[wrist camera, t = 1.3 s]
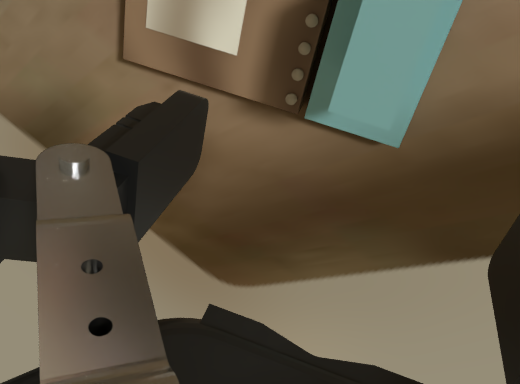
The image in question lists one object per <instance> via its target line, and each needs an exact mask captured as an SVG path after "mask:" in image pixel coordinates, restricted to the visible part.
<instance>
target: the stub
mask: <svg viewBox="0 0 520 384" xmlns="http://www.w3.org/2000/svg"><path fill="white" fill-rule="evenodd" d="M461 3H462V0H338V3H337V6H336V10H335V13H334V17H333V20H332V23H331V27H330V30H329V34H328V37H327V41H326V44H325V48H324V51H323V55H322V58H321V62H320V65H319V69H318V72H317V76H316V79H315V83H314V86H313V90H312V93H311V96H310V100H309V103H308V107H307V110H306V114H305V117H304V118H306V119H309V120H312V121H315V122H318V123H321V124H324V125H327V126H331V127H334V128H337V129H340V130H343V131H346V132H349V133H352V134H356V135H359V136H362V137H365V138H368V139H371V140H374V141H377V142H381V143H384V144H387V145H390V146H393V147H396V148H399V146H400V144H401V142H402V139H403V137H404V135H405V132H406V130H407V128H408V125H409V123H410V121H411V118H412V116H413V114H414V112H415V109H416V107H417V105H418V102H419V100H420V98H421V95H422V93H423V91H424V88H425V86H426V84H427V81H428V79H429V77H430V74H431V72H432V70H433V68H434V65H435V63H436V61H437V58H438V56H439V54H440V51H441V49H442V47H443V44H444V42H445V40H446V37H447V35H448V33H449V30H450V28H451V26H452V24H453V21H454V19H455V17H456V14H457V12H458V10H459V7H460V5H461Z"/></svg>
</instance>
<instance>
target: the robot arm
mask: <svg viewBox="0 0 520 384" xmlns="http://www.w3.org/2000/svg"><path fill="white" fill-rule="evenodd" d="M207 113H208V100H207V99H206V98H203V97H200V96H197V95H194V94H191V93H187V92H184V91H181V90H178V91H177V92H176V93H174V94H173V95H172V96H171V97H169V98H168V99H167V100H166V101H165V102H163V103H162V104H160V103H157V102H152V103H148V104H145V105H142V106H138V107H136V108H135V109H134V110H132V111H131V112H130V113H128V114H127V115H126V117H123V118H122V119H121V120H119V121H118V122H117V123H116V125H113V126H111V127H110V128H109V129H107V130H106V131H105V132H104V133H102V134H101V135H100V136H98V137H97V138H96V139H94V140H93V141H92V142H90V143H89V144H88V145H85V144H74V143H71V144H61V145H56V146H53V147H50V148H48V149H46V150H44V151H43V152H41V153H40V155H39V156H38V157H37V159H36V160H30V159H23V158H15V157H7V156H0V263H1V262H2V261H3V260H4V259H11V260H21V261H31V262H37V284H38V322H39V358H40V359H39V361H40V367H38V368H36V369H34V370H31V371H29V372H26V373H24V374H22V375H19V376H17V377H15V378H12V379H10V380H8V381H5V382H3V383H1V384H423V383H420V382H417V381H415V380H412V379H409V378H407V377H404V376H401V375H399V374H396V373H393V372H390V371H388V370H385V369H382V368H380V367H377V366H375V365H368V364H361V363H355V362H348V361H341V360H334V359H327V358H321V357H316V356H314V355H312V354H310V353H308V352H306V351H305V350H303V349H302V348H300V347H298V346H297V345H295V344H294V343H292V342H291V341H289V340H287V339H286V338H284V337H283V336H281V335H279V334H278V333H276V332H275V331H273V330H271V329H270V328H268V327H267V326H265V325H264V324H262V323H260V322H257V321H254V320H252V319H249V318H246V317H244V316H241V315H238V314H236V313H233V312H230V311H228V310H225V309H222V308H219V307H217V306H214V305H212V304H209V306H208V308H207V310H206V312H205V314H204V316H203V318H202V319H194V318H170V319H162V320H157V317H156V313H155V309H154V305H153V301H152V297H151V293H150V289H149V285H148V281H147V277H146V273H145V269H144V265H143V261H142V257H141V253H140V249H139V245H138V242H139V241H140V240H141V238H142V237H143V236H144V235H145V233H146V232H147V231H148V230H149V228H150V227H151V226H152V225H153V223H154V222H155V221H156V220H157V218H158V217H159V216H160V215H161V213H162V212H163V211H164V210H165V208H166V207H167V206H168V205H169V203H170V202H171V201H172V200H173V198H174V197H175V196H176V195H177V193H178V192H179V191H180V190H181V188H182V187H183V186H184V185H185V184H186V182H187V181H188V180H189V179H190V177H191V176H192V175H193V173H194V172H195V170H196V167H197V165H198V163H199V160H200V156H201V151H202V145H203V139H204V132H205V126H206V120H207ZM488 280H489V286H490V291H491V297H492V303H493V309H494V315H495V320H496V326H497V331H498V338H499V343H500V349H501V355H502V361H503V365H504V372H505V378H506V383H507V384H520V215H519V216H518V218H517V219H516V221H515V222H514V224H513V225H512V227H511V228H510V230H509V231H508V233H507V234H506V236H505V237H504V239H503V240H502V242H501V243H500V245H499V246H498V248H497V249H496V251H495V252H494V254H493V256H492V258H491V261H490V264H489V269H488Z"/></svg>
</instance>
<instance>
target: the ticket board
mask: <svg viewBox="0 0 520 384" xmlns="http://www.w3.org/2000/svg"><path fill="white" fill-rule="evenodd" d="M331 2H332V0H125V23H124V48H123V59H125V60H128V61H132V62H135V63H138V64H141V65H144V66H147V67H150V68H154V69H157V70H160V71H163V72H166V73H169V74H172V75H175V76H179V77H182V78H185V79H188V80H191V81H194V82H197V83H200V84H204V85H207V86H210V87H213V88H216V89H219V90H222V91H226V92H229V93H232V94H235V95H238V96H241V97H244V98H247V99H251V100H254V101H257V102H260V103H263V104H266V105H269V106H273V107H276V108H279V109H282V110H285V111H288V112H291V113H294V114H298V112H299V111H300V109H301V107H302V105H303V102H304V98H305V95H306V91H307V88H308V84H309V80H310V77H311V73H312V70H313V66H314V63H315V59H316V55H317V52H318V48H319V45H320V41H321V38H322V34H323V30H324V27H325V23H326V20H327V16H328V13H329V9H330V6H331Z"/></svg>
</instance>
